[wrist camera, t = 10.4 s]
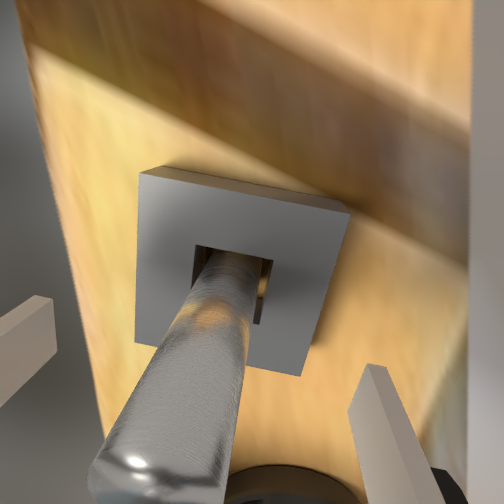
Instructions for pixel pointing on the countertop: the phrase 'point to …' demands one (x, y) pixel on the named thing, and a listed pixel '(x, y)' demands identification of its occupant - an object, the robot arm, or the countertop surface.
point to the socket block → (240, 241)
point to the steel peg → (185, 397)
